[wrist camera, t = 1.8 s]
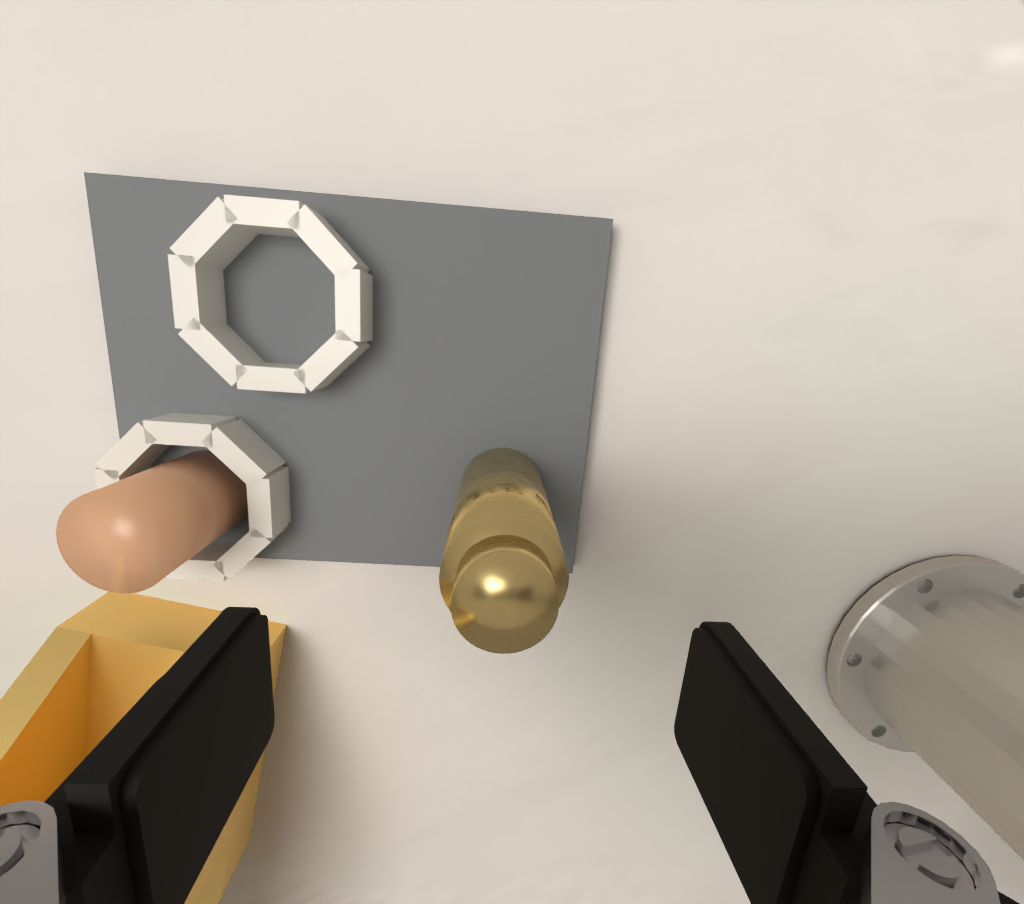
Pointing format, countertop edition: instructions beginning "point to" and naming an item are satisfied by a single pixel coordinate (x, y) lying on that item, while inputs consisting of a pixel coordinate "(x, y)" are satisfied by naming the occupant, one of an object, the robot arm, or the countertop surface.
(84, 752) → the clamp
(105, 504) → the joined fitting
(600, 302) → the mat
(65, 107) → the countertop surface
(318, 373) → the white octagonal ring
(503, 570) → the gold rounded cylinder
